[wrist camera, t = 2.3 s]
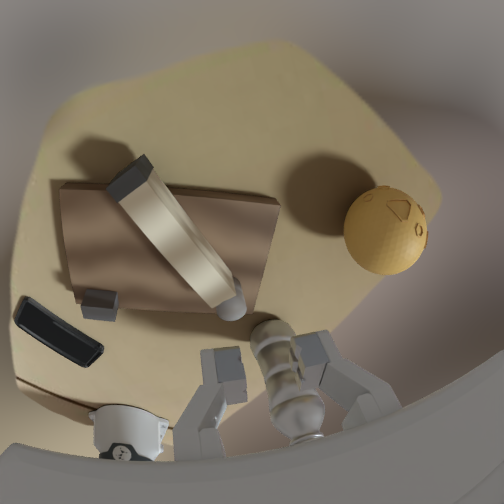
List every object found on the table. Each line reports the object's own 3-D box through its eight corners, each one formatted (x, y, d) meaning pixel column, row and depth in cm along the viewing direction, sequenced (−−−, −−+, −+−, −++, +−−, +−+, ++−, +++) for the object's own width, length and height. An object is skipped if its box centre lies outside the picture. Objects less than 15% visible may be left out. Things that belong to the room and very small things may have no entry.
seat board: (249, 303, 38) (257, 330, 34) (80, 293, 32) (69, 320, 28) (275, 198, 31) (289, 218, 27) (66, 182, 25) (46, 200, 21)
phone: (86, 369, 39) (13, 323, 32) (87, 364, 40) (15, 318, 32) (106, 350, 37) (24, 297, 30) (107, 344, 38) (27, 291, 31)
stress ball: (342, 248, 37) (411, 270, 34) (326, 271, 29) (414, 300, 25) (359, 176, 34) (431, 197, 30) (347, 176, 26) (445, 205, 22)
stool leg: (245, 288, 34) (252, 312, 30) (222, 300, 34) (227, 325, 31) (143, 153, 23) (135, 165, 20) (117, 173, 24) (105, 188, 20)
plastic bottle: (244, 318, 40) (280, 452, 23) (291, 309, 40) (343, 434, 24) (249, 346, 43) (279, 465, 26) (290, 337, 44) (333, 450, 27)
